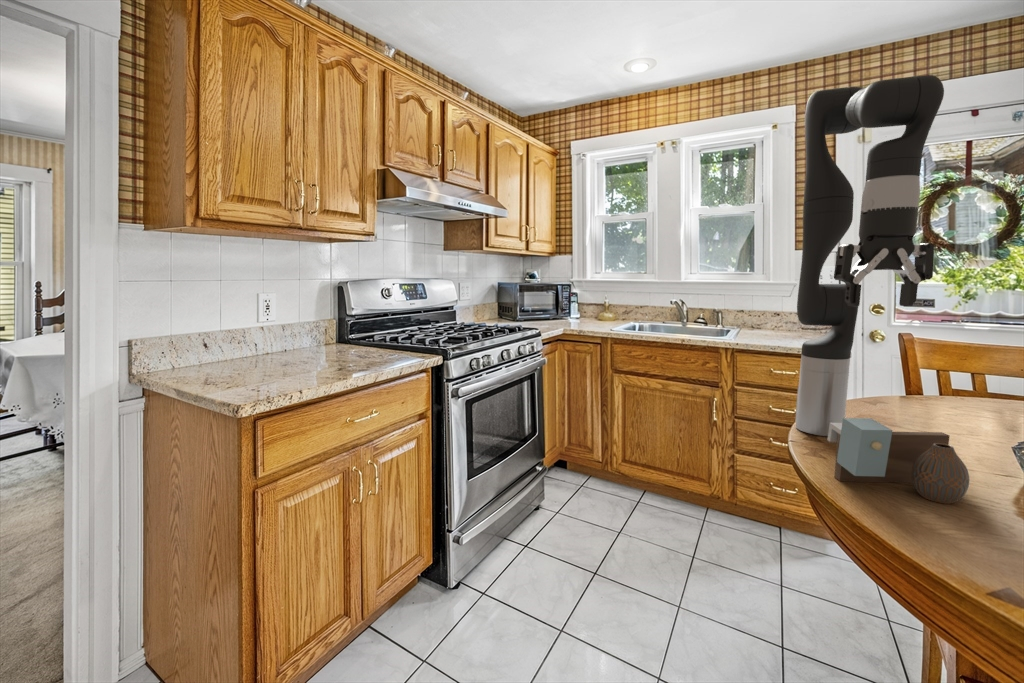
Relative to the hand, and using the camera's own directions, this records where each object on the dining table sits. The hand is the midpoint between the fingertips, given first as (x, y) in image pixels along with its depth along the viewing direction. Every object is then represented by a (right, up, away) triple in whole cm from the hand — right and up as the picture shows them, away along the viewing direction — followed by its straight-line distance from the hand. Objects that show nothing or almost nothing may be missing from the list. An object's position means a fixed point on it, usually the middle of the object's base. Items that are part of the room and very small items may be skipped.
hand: (879, 306), depth 82 cm
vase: (+6, -31, -4) cm, 32 cm away
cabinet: (-4, -27, 0) cm, 27 cm away
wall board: (+3, -30, +2) cm, 30 cm away
